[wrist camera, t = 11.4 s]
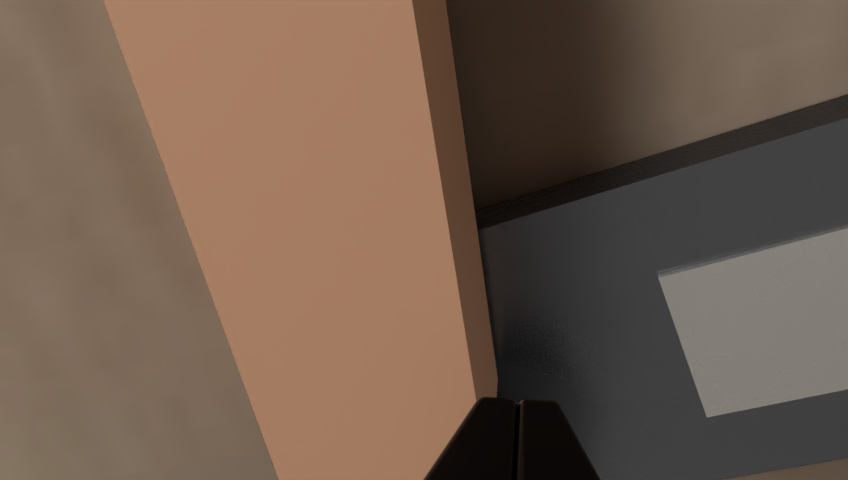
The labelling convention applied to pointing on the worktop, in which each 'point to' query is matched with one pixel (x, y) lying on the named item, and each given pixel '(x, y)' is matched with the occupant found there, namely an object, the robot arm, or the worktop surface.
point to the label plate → (685, 302)
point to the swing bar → (326, 217)
